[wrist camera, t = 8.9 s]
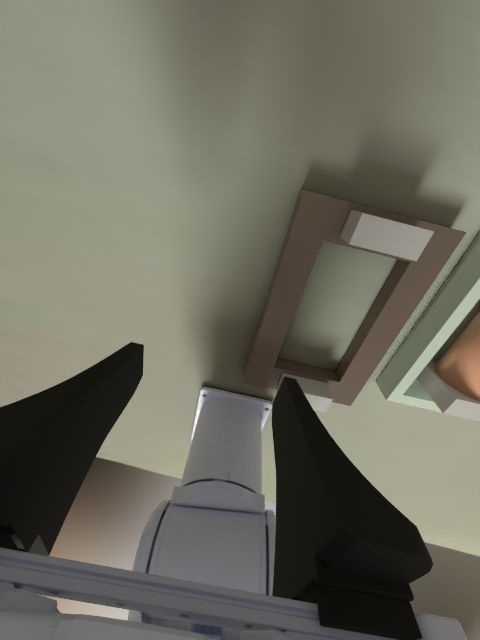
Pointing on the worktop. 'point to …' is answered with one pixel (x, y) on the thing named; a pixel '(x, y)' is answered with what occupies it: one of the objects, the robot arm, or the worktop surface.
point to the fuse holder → (386, 312)
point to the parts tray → (434, 332)
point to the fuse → (457, 375)
